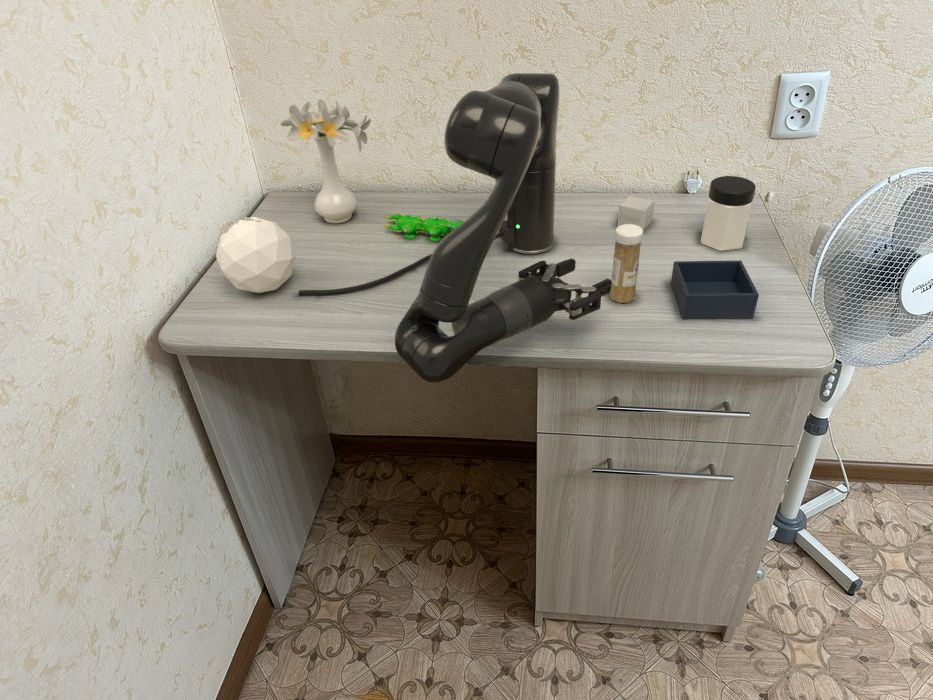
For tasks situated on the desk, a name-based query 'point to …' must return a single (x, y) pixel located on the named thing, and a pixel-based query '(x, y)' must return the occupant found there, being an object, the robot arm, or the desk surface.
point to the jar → (727, 212)
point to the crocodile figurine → (422, 225)
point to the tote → (713, 290)
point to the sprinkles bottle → (626, 262)
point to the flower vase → (328, 153)
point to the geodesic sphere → (255, 255)
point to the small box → (636, 212)
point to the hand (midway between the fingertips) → (591, 273)
